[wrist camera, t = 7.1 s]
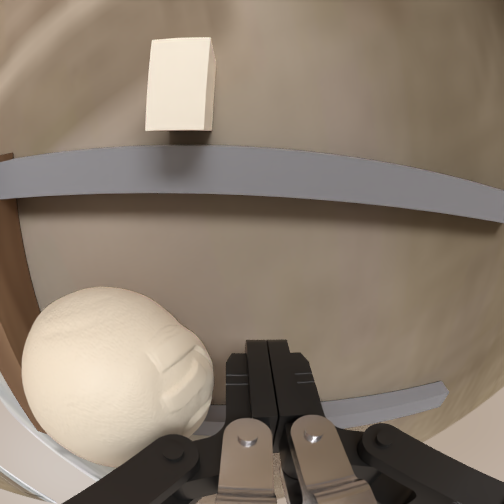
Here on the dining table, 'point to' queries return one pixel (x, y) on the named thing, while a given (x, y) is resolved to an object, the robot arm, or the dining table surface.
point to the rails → (263, 184)
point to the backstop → (14, 301)
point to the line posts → (181, 89)
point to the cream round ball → (114, 374)
